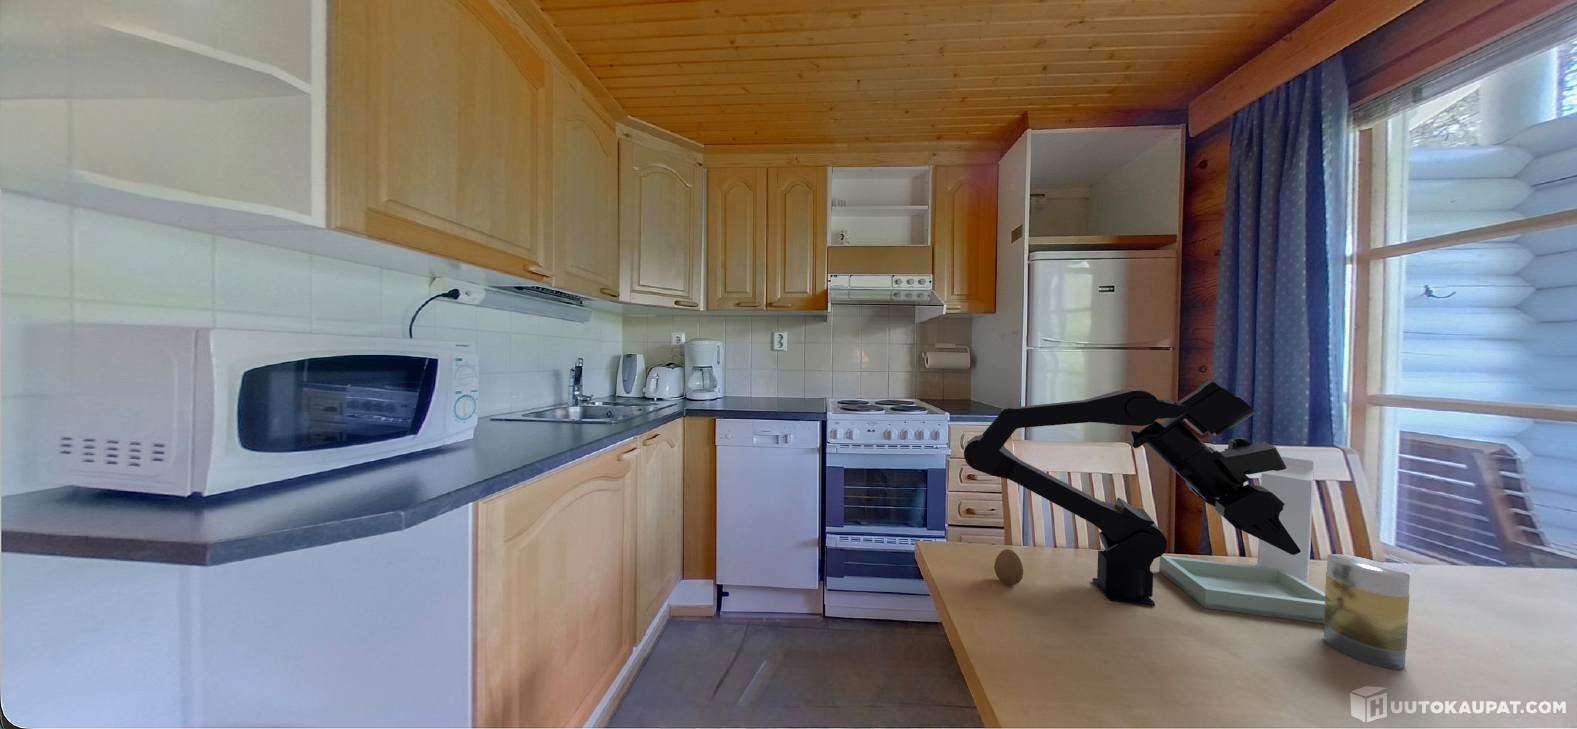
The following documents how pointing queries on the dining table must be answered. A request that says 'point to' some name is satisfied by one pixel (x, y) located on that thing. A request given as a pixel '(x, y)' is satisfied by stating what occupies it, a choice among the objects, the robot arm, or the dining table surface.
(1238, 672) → the dining table surface
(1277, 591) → the pale green tray
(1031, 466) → the robot arm
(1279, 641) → the dining table surface
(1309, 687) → the dining table surface
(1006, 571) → the egg
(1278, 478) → the milk
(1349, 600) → the tin can
